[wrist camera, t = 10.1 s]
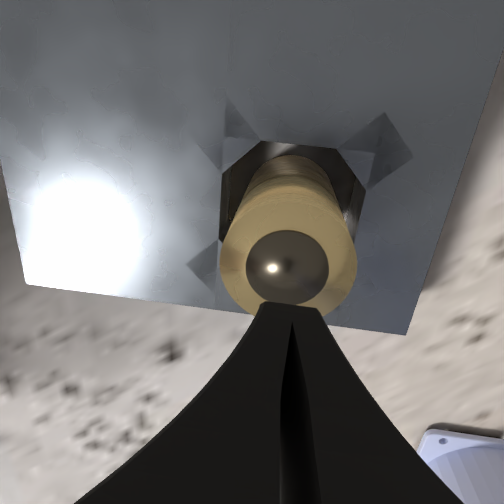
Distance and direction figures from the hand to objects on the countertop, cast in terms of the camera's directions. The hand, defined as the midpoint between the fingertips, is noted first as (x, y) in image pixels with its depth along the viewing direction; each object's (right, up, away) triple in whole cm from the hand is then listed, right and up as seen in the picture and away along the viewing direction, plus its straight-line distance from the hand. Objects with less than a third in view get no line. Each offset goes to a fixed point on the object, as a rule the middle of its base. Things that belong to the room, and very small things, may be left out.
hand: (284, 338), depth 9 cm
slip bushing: (+1, +5, +8) cm, 9 cm away
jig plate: (-2, +7, +7) cm, 10 cm away
